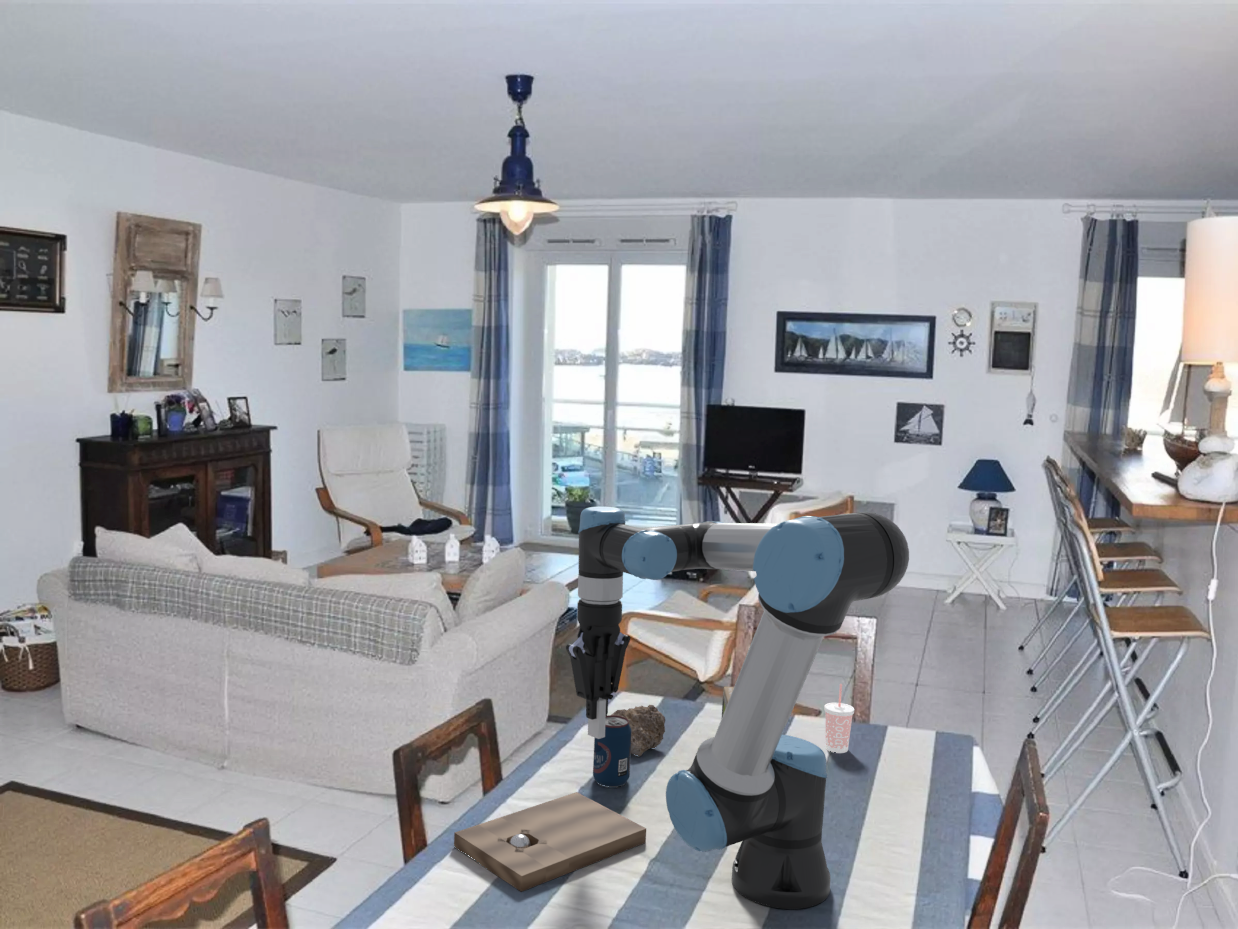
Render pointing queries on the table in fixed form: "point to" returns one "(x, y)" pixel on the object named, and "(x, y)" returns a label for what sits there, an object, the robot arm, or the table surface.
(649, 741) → the brown rock
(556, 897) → the table surface
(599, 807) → the walnut board
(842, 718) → the beverage cup
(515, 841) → the steel ball
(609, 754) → the soda can
